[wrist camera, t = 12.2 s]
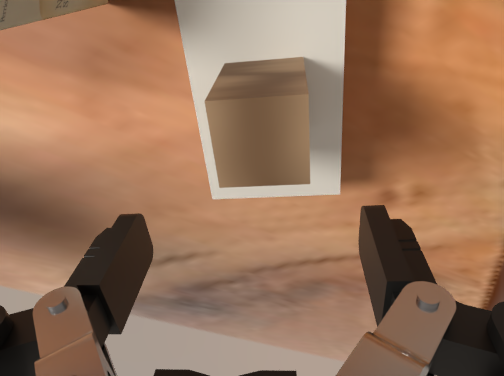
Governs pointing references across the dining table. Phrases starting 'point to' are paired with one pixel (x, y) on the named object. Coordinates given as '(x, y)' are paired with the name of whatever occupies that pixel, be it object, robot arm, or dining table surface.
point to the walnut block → (260, 123)
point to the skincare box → (39, 10)
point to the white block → (266, 48)
